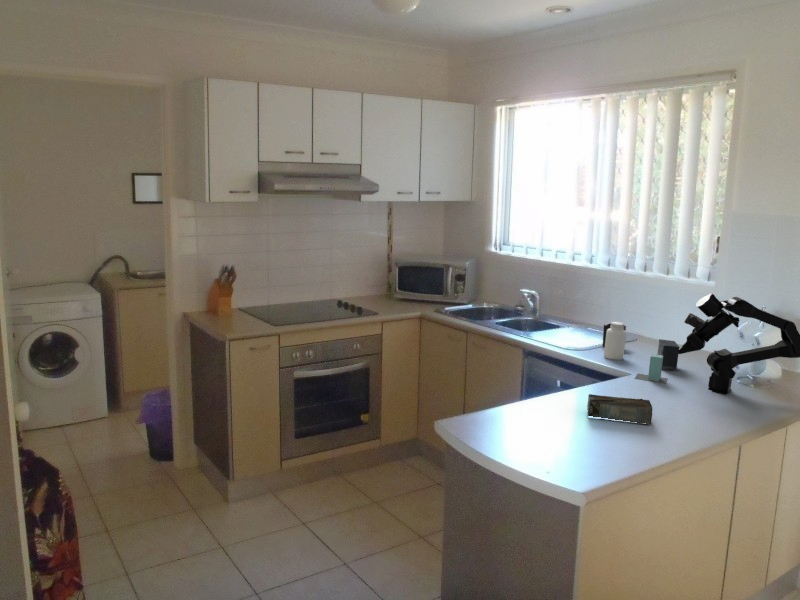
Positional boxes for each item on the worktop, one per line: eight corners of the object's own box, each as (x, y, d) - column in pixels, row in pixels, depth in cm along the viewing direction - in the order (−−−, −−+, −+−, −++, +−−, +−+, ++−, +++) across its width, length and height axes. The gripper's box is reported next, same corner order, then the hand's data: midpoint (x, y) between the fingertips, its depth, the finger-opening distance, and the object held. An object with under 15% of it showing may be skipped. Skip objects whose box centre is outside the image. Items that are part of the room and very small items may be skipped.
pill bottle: (625, 361, 274) (628, 325, 271) (605, 359, 275) (608, 324, 273) (621, 356, 282) (625, 321, 279) (602, 354, 283) (605, 320, 280)
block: (660, 378, 251) (663, 355, 249) (659, 381, 247) (661, 358, 245) (649, 376, 252) (652, 353, 251) (647, 379, 249) (650, 356, 247)
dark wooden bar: (586, 410, 215) (588, 391, 214) (648, 418, 211) (650, 398, 209) (587, 419, 207) (589, 399, 206) (651, 427, 203) (654, 406, 202)
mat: (668, 379, 251) (668, 378, 251) (665, 385, 244) (665, 383, 244) (637, 374, 256) (637, 373, 256) (634, 379, 249) (634, 378, 249)
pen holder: (599, 344, 301) (601, 322, 299) (620, 345, 300) (622, 323, 299) (604, 349, 292) (607, 327, 290) (626, 350, 291) (628, 328, 289)
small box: (677, 372, 261) (680, 346, 259) (659, 370, 262) (663, 345, 260) (672, 365, 271) (675, 340, 269) (655, 363, 273) (658, 338, 271)
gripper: (704, 303, 246) (670, 328, 254) (696, 311, 231) (660, 338, 239) (725, 326, 244) (690, 351, 252) (719, 336, 228) (682, 362, 236)
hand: (680, 350), depth 245 cm, fingers open, 9 cm apart
